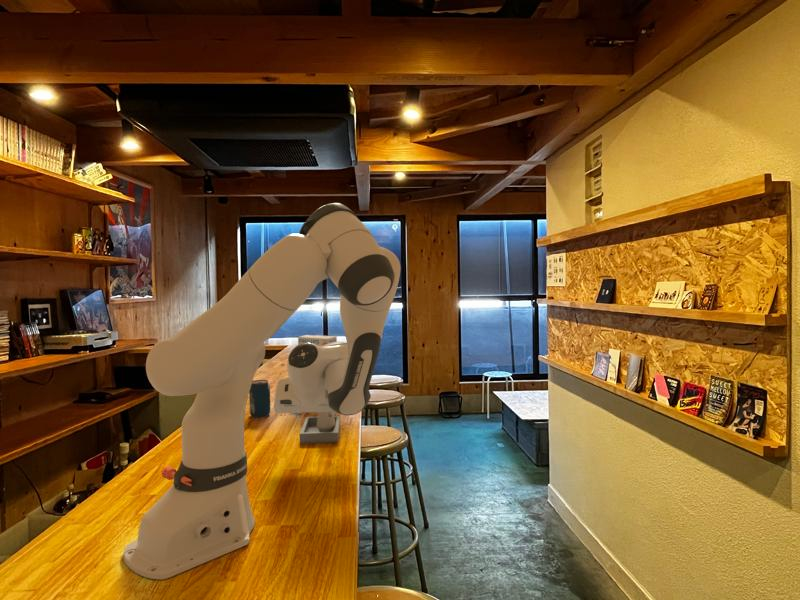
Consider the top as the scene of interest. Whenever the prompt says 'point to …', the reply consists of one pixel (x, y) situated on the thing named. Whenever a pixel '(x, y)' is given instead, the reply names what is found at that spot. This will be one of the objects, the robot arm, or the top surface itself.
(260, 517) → the top surface
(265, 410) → the soda can
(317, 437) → the trough
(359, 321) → the robot arm
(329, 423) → the salt shaker
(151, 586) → the top surface
